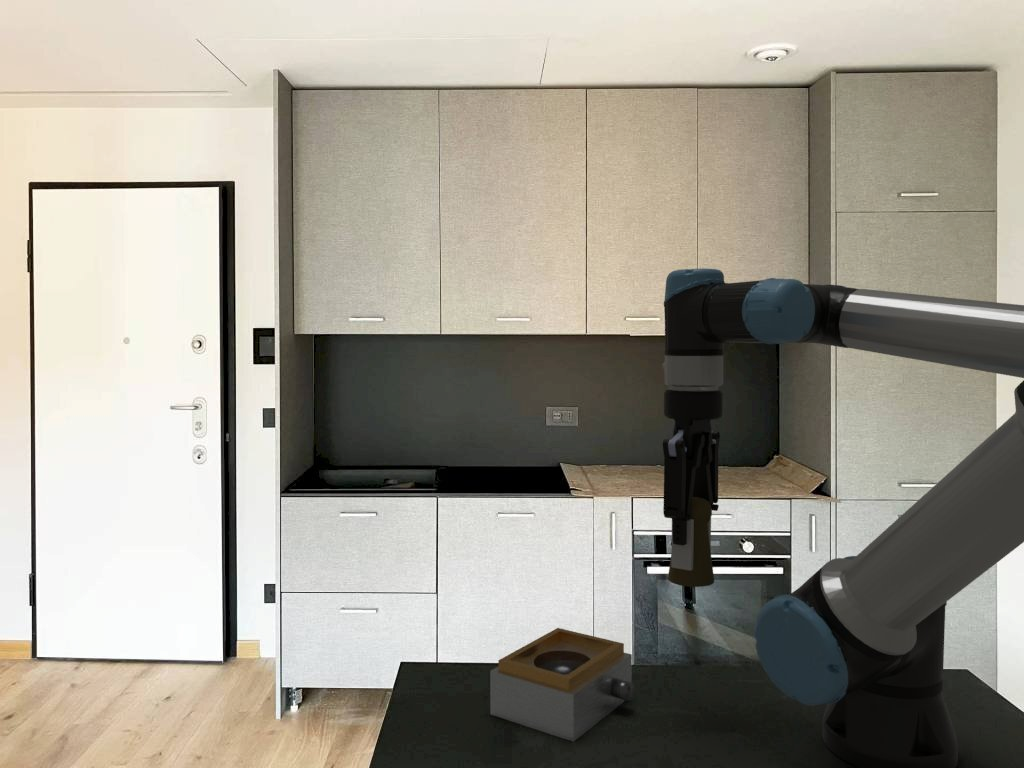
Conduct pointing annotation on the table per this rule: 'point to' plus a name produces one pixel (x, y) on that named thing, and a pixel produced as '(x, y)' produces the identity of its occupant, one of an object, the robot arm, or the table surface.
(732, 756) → the table surface
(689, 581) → the cork
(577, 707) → the grey box with hole
